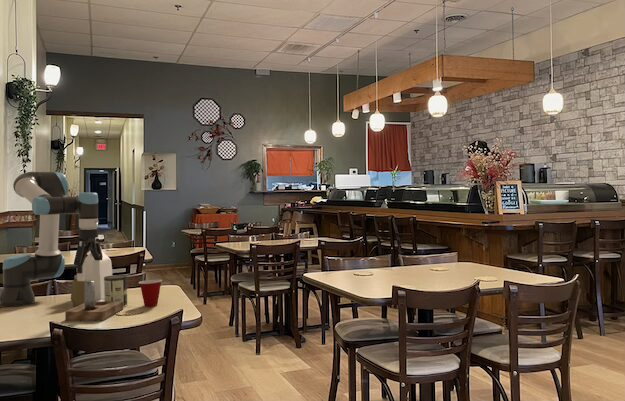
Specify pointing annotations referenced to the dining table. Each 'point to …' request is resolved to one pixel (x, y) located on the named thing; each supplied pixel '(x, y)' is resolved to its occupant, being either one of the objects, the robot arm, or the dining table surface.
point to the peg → (89, 295)
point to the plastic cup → (150, 292)
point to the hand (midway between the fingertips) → (89, 278)
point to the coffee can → (116, 288)
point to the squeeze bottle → (78, 292)
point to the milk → (99, 279)
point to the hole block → (94, 311)
